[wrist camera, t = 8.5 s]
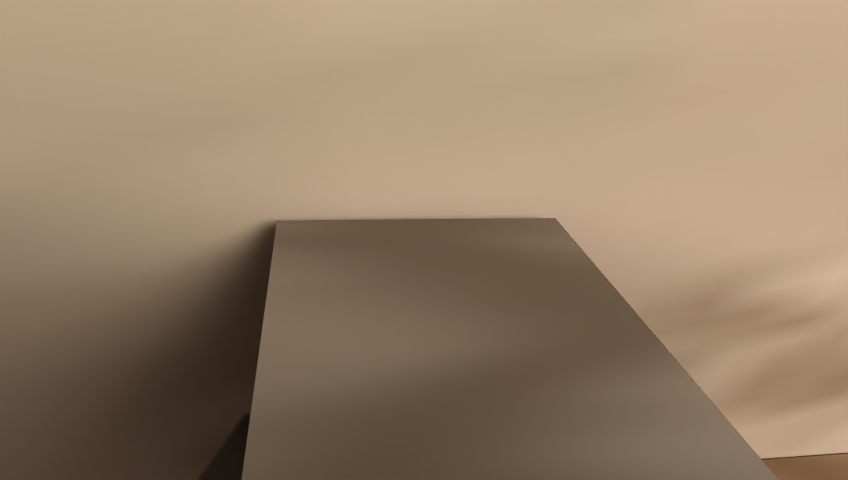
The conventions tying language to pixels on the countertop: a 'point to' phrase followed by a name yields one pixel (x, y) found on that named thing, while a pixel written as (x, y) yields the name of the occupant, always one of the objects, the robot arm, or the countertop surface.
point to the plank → (810, 467)
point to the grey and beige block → (468, 363)
